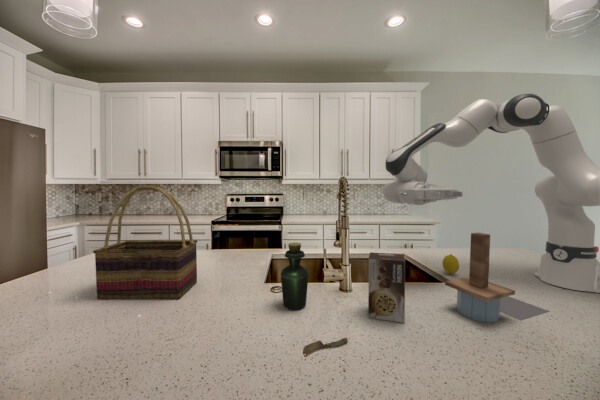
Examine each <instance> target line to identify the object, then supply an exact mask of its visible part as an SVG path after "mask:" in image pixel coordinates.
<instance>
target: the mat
mask: <svg viewBox="0 0 600 400" xmlns="http://www.w3.org/2000/svg"><path fill="white" fill-rule="evenodd" d="M550 312H551V311H550V310H547V309H545V308H543V307H540V306H536V305H533V304H531V303H529V302H525V301H522V300H520V299H517V298H513V297H511V296H507V297H503V298H501V302H500V313H502V314H504V315H507V316H508V317H511V318H514V319H516V320H518V321H524V320H527V319H530V318H533V317H536V316H540V315H543V314H547V313H550Z"/></svg>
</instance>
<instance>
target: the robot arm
mask: <svg viewBox="0 0 600 400" xmlns="http://www.w3.org/2000/svg"><path fill="white" fill-rule="evenodd" d="M567 113H568V112H567V111H566V110H565V109H564V108H563V107H561V106H560V105H549V104H548V103H546V102H545V100H543V99H542V97H540V96H539V95H537V94H534V93H522V94H519V95H516V96H514V97H512V98H510V99H508V100H505V101H504V102H502V103H501V104H496V103H494V102H493V101H492V100H489V99H486V98H480V99H477V100H475V101H473V102H472V103H470V104H469V105H468V106H466V107H465V108H464V109H462V110H461V111H460V112H459V113H457V114H456V115H455V116H454V117H453V118H452V119H450V120H449V121H447V122H444V123H443V122H438V123H436V124H433V125H432V126H429V128H427V129H426V130H424V131H423V132H421V133H420V134H418V135H417V136H416V137H414V138H413V139H411V140H410V141H409V142H407V143H405V144H404V145H403V146H401V147H400V148H398V149H396V150H394V151H392V152H391V153H390V154H388V156H386V160H385V170H386V171H387V172H388V173H390V175H392V176H394V177H395V180H394V181H393V182H390V183H387V184H386V185H384V187H383V189H382V193H383V196H384V198H385V199H386V200H387V201H388V202H390V203H394V204H402V205H404V204H407V205H411V206H412V205H413V206H423V205H425V204H428V203H435V202H437V201H443V200H445V201H448V200H456V199H458V198H463V196H464V191H459V189H457V188H455V187H454V188H453V187H447V186H438V184H433V183H432V184H431V183H427V182H426V181H427V178H428V174H427V172H426V171H425V170H424V168H423V167H422V166H421V165H420V164H419V163H417V162H416V160H415V159H414V158H413V156H414V155H416V154H417V153H418V152H420V151H421V150H423V149H424V148H426V147H427V146H428V145H430V144H432V143H440V144H443V145H446V146H448V147H451V148H462V147H465V146H467V145H469V144H471V143H473V141H474V140H475V139H476V138H477V137H478V136H479V135H481V134H482V133H483V132H484V131H485V130H487V129H488V130H491V131H493V132H495V133H499V134H507V133H510V132H516V131H519V130H524V131H525V132H526V133H527V134H528V135H529V137H530V141H531V144H532V146H533V149H534V152H535V155H536V157H537V159H538V163H539V164H540V166H542V167H543V168H544V167H545V168H546V169H548V171H550V172H551V173H552V174H553V175H550V176H547V177H544V178H541V179H539V181H538V182H536V184H535V186H534V193H535V196H536V197H537V198H538V199H539V200H540V201H541V203H542V204H543V207H544V210H545V212H546V216H547V223H548V225H547V226H548V227H547V228H548V229H547V231H548V232H547V241H545V242H546V243H545V253H544V254H542V255H541V256H540V260H539V268H538V271H535V272H534V277H537V278H539V280H540V281H543V282H544V283H546V284H549V285H552V286H554V287H558V288H559V287H560V288H564V289H567V290H572V291H579V292H580V291H581V292H589V293H597V294H600V261H599V260H598V259H597V256H598V255H597V253H598V252H599V250H600V249H599V246H596V245H595V237H596V236H595V234H596V233H595V232H596V225H595V223H594V221H593V220H591V219H590V218H589V217H588V216H587V214H586V212H585V210H584V207H599V206H600V167H599V166H598V165H597V164H596V163H595V162H594V161H593V160H592V158H590V157H589V156H588V154H587V152H586V151H585V149H584V147H583V144H582V142H581V139H580V138H579V135H578V132H577V130H576V128H575V124H573V121H572V119H571V118H570V116H569V114H567Z"/></svg>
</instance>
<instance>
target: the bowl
mask: <svg viewBox="0 0 600 400" xmlns="http://www.w3.org/2000/svg"><path fill="white" fill-rule="evenodd" d="M456 290H457V289H456ZM500 302H501V298H499V299H495V300H491V301H487V302H486V301H484V300H481V299H479V298H476V297H474V296H472V295H469V294H467V293H464V292H462V291H459V290H457V293H456V310H457V311H458V312H459V314H460V315H463V316H464V317H466V318H468V319H471V320H473V321H478V322H482V323H498V321H499V320H500V319H501V312H500Z"/></svg>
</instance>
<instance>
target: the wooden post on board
mask: <svg viewBox="0 0 600 400" xmlns="http://www.w3.org/2000/svg"><path fill="white" fill-rule="evenodd" d="M490 248H491V234H489V233H483V232H471V233H470V249H469V250H470V252H469V255H470V256H469V276H467V277H460V278H456V279H449V280H444V285H445V286H447V287H450V288H452V289H455V290H459V291H462V292H464V293H467V294H469V295H472V296H474V297H476V298H479V299H481V300H484V301H486V302H487V301H491V300H495V299H499V298H503V297H507V296H509V297H511V296H514V295H516V290H514V289H511V288H510V287H509V288H508V287H505V286H503V285H499V284H497V283H494V282H490V281H489V278H490V277H489V276H490V275H489V273H490V272H489V271H490V253H491V252H490V250H491V249H490Z"/></svg>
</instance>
